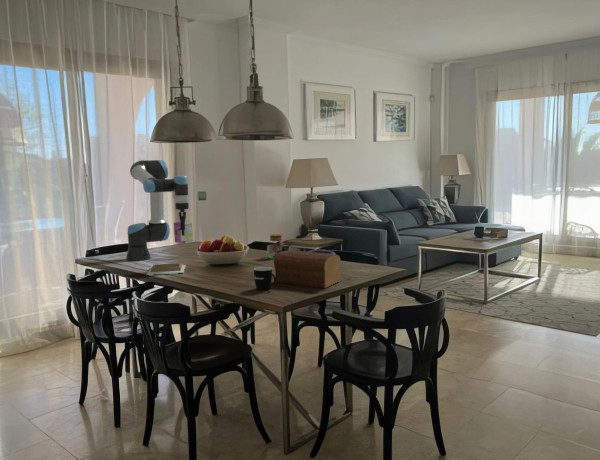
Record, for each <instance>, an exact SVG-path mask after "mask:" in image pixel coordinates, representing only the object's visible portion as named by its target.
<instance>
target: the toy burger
mask: <svg viewBox="0 0 600 460" xmlns="http://www.w3.org/2000/svg"><path fill="white" fill-rule="evenodd" d="M269 236H270V239H269V240H270V242H271V241H272V242H276V243H275V244H268V245H267V246H266V252H267V253H266V254H267V255H269V254H274V255H270V256H268V259H271V260H274V257H275V256H276V255H277V254H278V253H280V252H283V247H284V246H285V245H284V243H283V242H282V240H283V239H282V238H283V236H282V234H280V233H279V234H277V233H276V234H275V233H274V234H270V235H269Z"/></svg>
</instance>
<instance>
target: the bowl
mask: <svg viewBox="0 0 600 460" xmlns="http://www.w3.org/2000/svg"><path fill="white" fill-rule="evenodd" d="M307 252H314V253H327V254H335V255H337V254H336V252H334V251H332V250H330V249H329V250H328V249H312V250H308V251H307Z"/></svg>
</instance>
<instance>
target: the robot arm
mask: <svg viewBox="0 0 600 460" xmlns="http://www.w3.org/2000/svg"><path fill="white" fill-rule="evenodd" d="M129 173H130V175H131V177H132V178H133V179H135V180H137V181H139V182H140V183H141V184H142V186H143V190H144V192H145V193H149V202H150V203H149V204H150V205H149V206H150V208H149V209H150V219H149V220H148V224H146V223H145V222H140V223H139V222H138V223H133V224H130V225H129V226H127V240H128V248H127V253H126V257H125V259H126V261H128V260H130V261H129V262H131V261H132V262H138V261H140V260H141V261H145V260H147V261H148V260H151V253H150V252H149V249H148V243H153V242H155V243H157V242H163V241H167V240H168V239H169V237H170V234H171V233H170V232H171V231H170V230H171V229H170V224H169V223H167V220H166V219H165V214H164V213H165V209H164V208H165V207H164V193H171V192H172V193H173V192H174V197H173V199H174V201H175V210H177V211H178V210H179V212H178V215H179V220H180V221H179V222H180V228H179V230H180V231H181V241H186V235H185V222H186V217H187V216H186V215H187V211H186V210H189V208H190V206H189V181H188V176H187V175H176V176H174V177H173V178H168V177H169V168H168V165H167V162H165V160H158V159H153V160H152V159H150V160H149V159H148V160H145V159H144V160H143V159H142V160H137V161H136V162H134V163H133V164H132V165H131V166H130V170H129ZM167 178H168V179H167ZM141 261H140V262H141Z"/></svg>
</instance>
